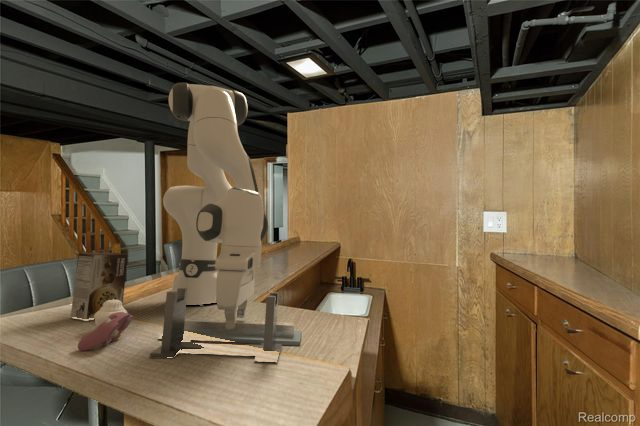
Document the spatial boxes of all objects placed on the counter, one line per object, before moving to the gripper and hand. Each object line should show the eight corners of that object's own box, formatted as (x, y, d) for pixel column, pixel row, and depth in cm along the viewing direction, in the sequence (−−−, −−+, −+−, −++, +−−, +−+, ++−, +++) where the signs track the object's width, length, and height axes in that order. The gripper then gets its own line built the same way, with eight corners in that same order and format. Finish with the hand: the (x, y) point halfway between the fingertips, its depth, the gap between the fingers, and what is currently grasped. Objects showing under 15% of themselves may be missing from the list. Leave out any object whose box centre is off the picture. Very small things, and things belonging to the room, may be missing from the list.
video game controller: (96, 361, 55) (120, 324, 56) (72, 349, 54) (96, 313, 55) (121, 343, 64) (141, 312, 66) (101, 333, 64) (121, 302, 65)
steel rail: (176, 328, 69) (178, 317, 69) (293, 333, 69) (294, 322, 69) (172, 331, 66) (173, 320, 66) (293, 337, 67) (293, 325, 67)
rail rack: (170, 343, 61) (176, 286, 62) (281, 348, 62) (285, 291, 63) (149, 357, 53) (156, 292, 54) (277, 363, 54) (281, 298, 55)
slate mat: (175, 329, 71) (175, 325, 71) (301, 334, 72) (301, 331, 72) (158, 339, 63) (158, 335, 63) (299, 345, 64) (300, 341, 64)
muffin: (132, 330, 69) (136, 298, 69) (104, 337, 63) (108, 302, 64) (113, 326, 71) (117, 295, 72) (84, 333, 65) (89, 299, 66)
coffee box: (106, 312, 84) (113, 252, 86) (122, 315, 82) (129, 253, 83) (68, 318, 76) (77, 252, 77) (85, 322, 73) (94, 253, 75)
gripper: (237, 256, 80) (233, 311, 78) (212, 260, 59) (206, 335, 58) (262, 257, 80) (258, 312, 78) (245, 262, 59) (240, 336, 58)
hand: (236, 322), depth 68 cm, fingers open, 8 cm apart
